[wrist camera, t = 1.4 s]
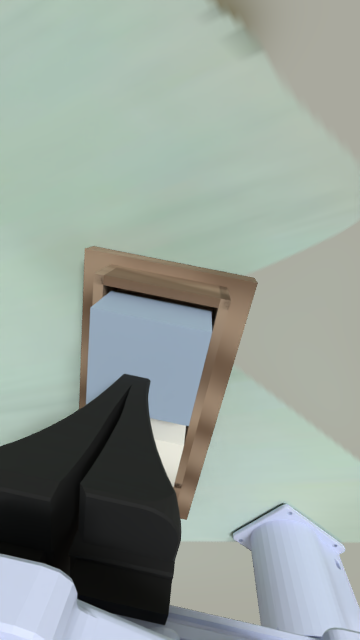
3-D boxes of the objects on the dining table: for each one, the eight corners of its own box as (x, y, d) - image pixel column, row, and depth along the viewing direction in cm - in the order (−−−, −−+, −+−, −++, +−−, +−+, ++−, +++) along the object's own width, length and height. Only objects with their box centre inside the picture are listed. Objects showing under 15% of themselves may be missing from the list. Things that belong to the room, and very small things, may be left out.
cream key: (173, 469, 22) (167, 509, 19) (98, 453, 22) (81, 490, 19) (187, 410, 20) (183, 445, 17) (103, 392, 20) (84, 424, 17)
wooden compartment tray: (187, 505, 29) (184, 553, 25) (82, 482, 29) (61, 526, 25) (254, 277, 19) (266, 295, 15) (93, 246, 19) (62, 255, 15)
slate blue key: (191, 392, 19) (188, 426, 16) (104, 374, 19) (85, 404, 16) (211, 311, 16) (212, 332, 13) (111, 290, 17) (90, 307, 14)
